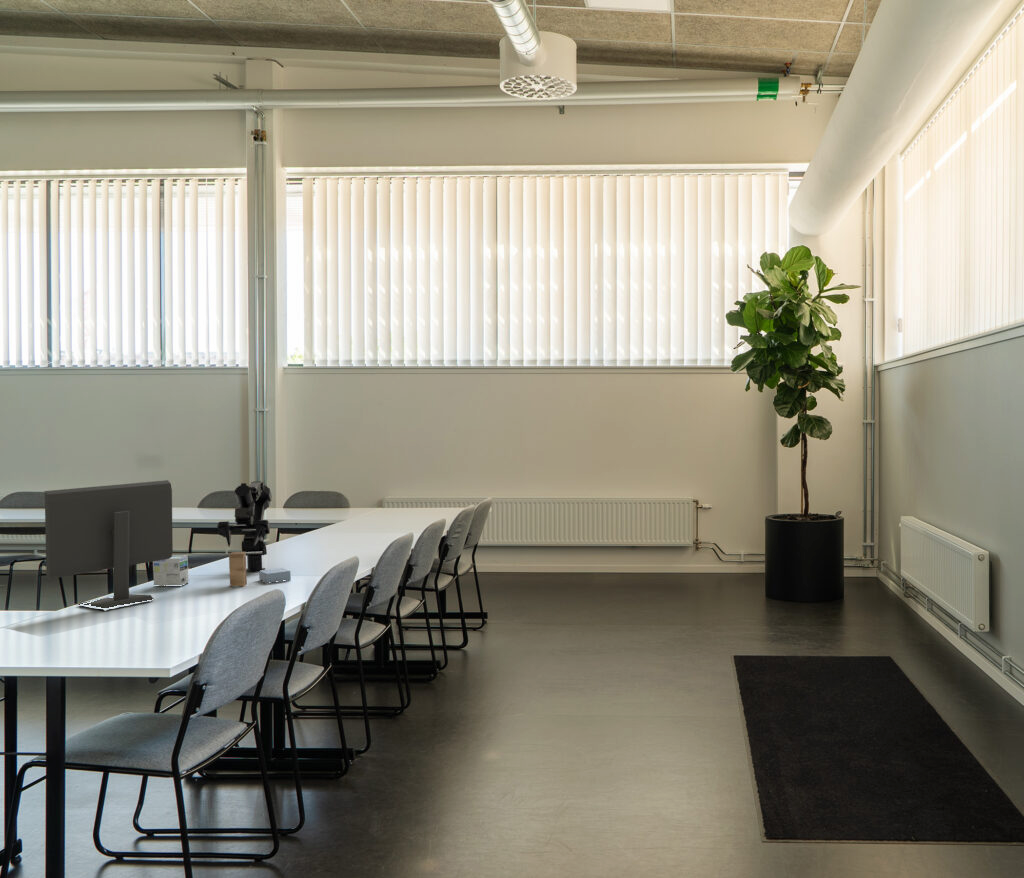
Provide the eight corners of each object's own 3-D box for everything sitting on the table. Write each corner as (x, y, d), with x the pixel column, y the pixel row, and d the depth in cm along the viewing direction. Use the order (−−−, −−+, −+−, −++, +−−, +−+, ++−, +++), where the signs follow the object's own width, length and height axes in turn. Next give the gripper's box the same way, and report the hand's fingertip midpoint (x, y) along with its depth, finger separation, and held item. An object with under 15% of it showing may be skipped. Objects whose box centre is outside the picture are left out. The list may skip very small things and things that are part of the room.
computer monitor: (159, 590, 325) (155, 479, 324) (187, 594, 316) (182, 480, 314) (38, 614, 290) (32, 490, 288) (64, 620, 280) (59, 491, 279)
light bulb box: (189, 583, 337) (188, 555, 337) (181, 587, 330) (179, 558, 330) (162, 584, 338) (160, 555, 338) (153, 587, 331) (151, 558, 331)
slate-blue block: (259, 581, 340) (259, 570, 340) (282, 578, 345) (282, 567, 345) (267, 584, 333) (266, 573, 333) (290, 581, 338) (290, 570, 338)
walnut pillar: (232, 584, 333) (231, 552, 332) (246, 584, 333) (245, 551, 333) (230, 587, 328) (228, 554, 327) (244, 586, 328) (243, 553, 328)
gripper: (217, 500, 341) (211, 533, 331) (267, 498, 343) (263, 531, 333) (222, 518, 349) (217, 551, 339) (271, 517, 351) (268, 549, 341)
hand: (241, 545), depth 338 cm, fingers open, 9 cm apart
